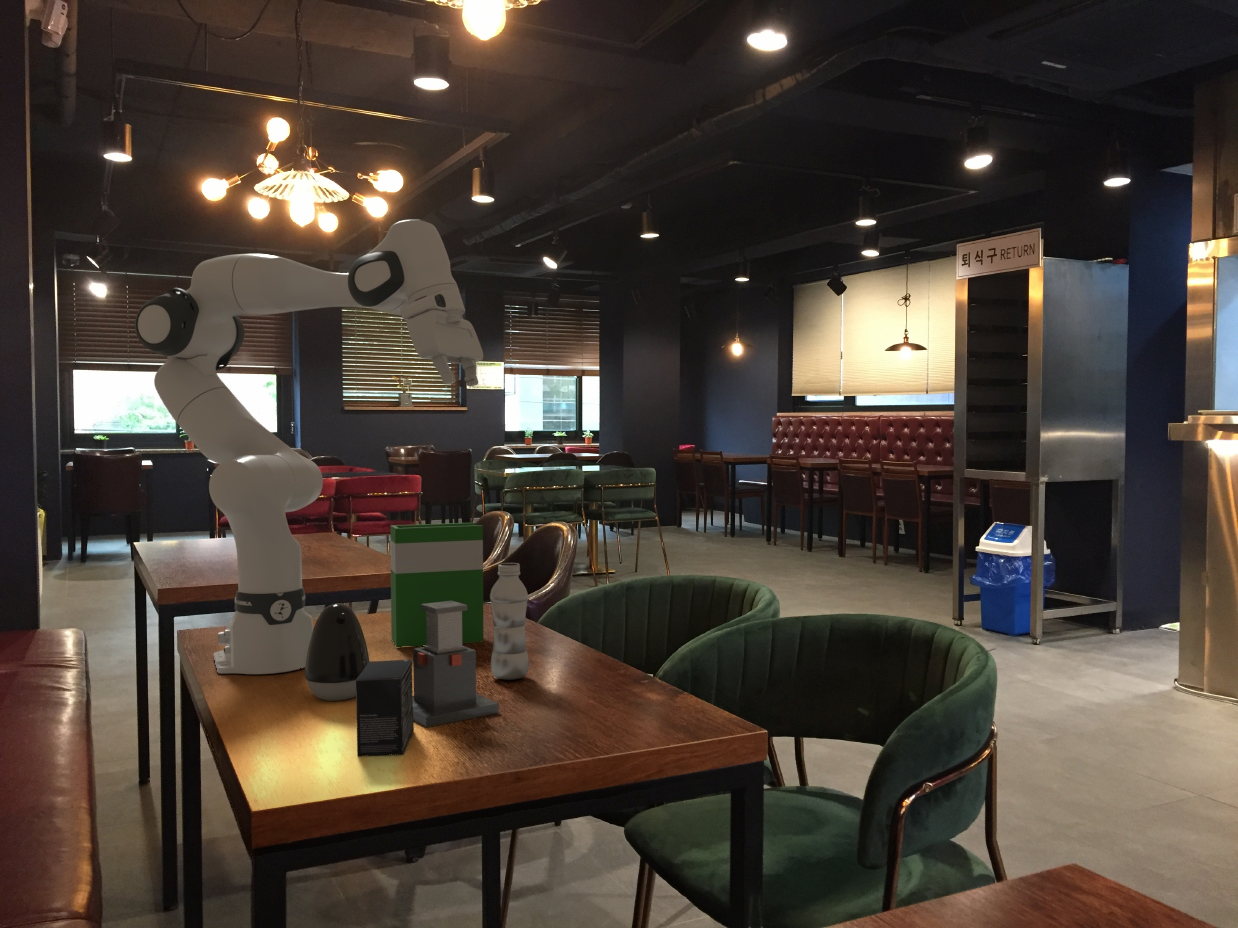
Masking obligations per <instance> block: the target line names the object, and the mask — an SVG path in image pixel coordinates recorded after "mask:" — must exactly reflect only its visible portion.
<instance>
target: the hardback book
mask: <svg viewBox="0 0 1238 928" xmlns="http://www.w3.org/2000/svg"><path fill="white" fill-rule="evenodd" d="M483 527H484V525H482V524H481V525H480V524H479V525H478V524H477V523H476V522H457V523H456V522H455V523H429V524H428V523H427V524H426V523H425V524H424V523H423V524H419V523H418V524H396V525H393V524H391V525H390V604H391V605H390V613H391V614H390V615H391V617H390V623H391V627H390V628H391V631H390V632H391V633H390V634H391V638H392V640H393V642H394V644H395V645H396V647H402V646H423V645H427V631H426V611H424V610H421V604H427V603H436V602H444V601H454V602H458V603H461V604H465V605H467V611H462V644H473V643H472V642H475V643H480V642H479V641H484V640H485V639H484V532H483V531H484V530H483V529H484V528H483ZM392 640H391V641H392ZM394 644H393V645H394ZM396 647H395V648H396Z"/></svg>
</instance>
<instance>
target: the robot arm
mask: <svg viewBox="0 0 1238 928" xmlns="http://www.w3.org/2000/svg"><path fill="white" fill-rule="evenodd" d="M323 308H324V309H325V308H361V309H362V308H366V309H371V310H374V311H379V312H382V313H383V312H384V313H386V314H391V315H394V316H396V317H400V318H402V319H403V321H406V327H407V331H408V334H409V337H410V340H411V342H412V344H413V347H414V350H415V351H416V353H417V355H418V356H419V358H420V359H424V360H430V361H432V364H433V366H434V368H435V370H436V371H437V372H438V374H439V375H440V378H441V381H442V384H444V385H448V386H449V385H453V384H455V382H457V380H456V377H455V373H454V372H453V371H452V370H451V367H450V366H449V363H451V364H452V363H453V364H458V365H459V364H460V365H461V367H462V369H463V370H464V375H465V377H464V378H463V379H464V381H465V385H466V386H467V387H475V386H478V385H479V379H478V376H477V370H478V369H477V362H481V361H483V359H484V351H483V349H482V346H481V342H480V340H479V338H478V334H477V333H476V330H475V328H474V325H473V324H472V323H471V322H470V321H469V320H468V319H464V317H463V315H464V314H465V312H466V309H465V308H466V307H465V305H464V301H463V299H462V296H461V293H460V290H459V287H458V284H457V281H456V280H455V279H454V277H453V275H452V271H451V261H450V259H449V254H448V252H447V250H446V248H445V243H444V241H443V240H442V237H441V234H440V233H439V231H438V229H437V227H435V225H434V224H432V223H431V222H428V221H427V220H423V219H419V218H417V219H414V218H411V219H410V218H409V219H403V220H399V221H397V222H395V223H393V224H392V225H391V226H389V228H388V231H387V233H386V235H385V237H384V238H383V239H382V241H381V242H380V243H378V245H376V246H375V247H374V248H372V250H371V251H369V252H368V253H366V254H365V255H362V256H359V258H356V260H355V261H354V262H353V263H352V265H351V267H350V269H349V271H348V272H347V273H345V272H343V273H340V272H332V271H328V270H327V271H326V270H323V269H319V268H316V267H313V266H309V265H307V264H304V263H301V262H298V261H295V260H294V259H293V260H292V259H289V258H285V257H282V256H278V255H271V254H265V253H240V254H238V253H237V254H228V255H222V256H217V257H213V258H210V259H206V260H203V261H201V262H200V263H199V264H198V265H196V267H195V268H194V270H193V272H192V276H191V280H190V287H189V288H187V289H186V290H185V289H183V288H179V287H173V288H170V289H169V290H168V291H166V292H165V293H164V294H162V295H158V296H156V297H153V298H151V299H149V300H148V301H145V303H143V305H142V306H140V308H139V309H138V312H137V313H136V315H135V320H134V332H135V335H136V337H137V339H138V341H139V342H140V343H141V344H142V346H143V347H145V348H146V349H147V350H149V351H151V352H153V353H156V354H157V355H161V356H165V357H167V358H166V361H165V362H164V363H163V364H162V365H161V366H160V367H159V368H158V370H157V371H156V373H155V375H154V379H153V380H154V381H153V383H154V387H155V390H156V393H157V394H158V396H159V398H160V400H161V401H162V403H163V405H164V407H165V408H166V410H167V411H168V413H169V414H170V415H171V417H172V418H173V420H174V421H175V422H176V423H177V425H178V426H179V427H180V429H182V431H183V432H184V433H185V434H186V435H187V437H188V438H189V439H190V440H191V442H192V443H193V444H194V445H195V446H196V448H197V449H198V450H199V451H200V453H201V454H202V455H203V456H204V457H206V458H207V459H209V461H212V462H214V463H216V464H217V466H216V468H215V469H213V471H212V473H211V475H210V478H209V482H208V491H209V495H210V499H211V501H212V503H213V504H214V505H215V507H216V508H217V509H218V510H220V511H221V512H222V513H223V514H224V516H225V517H226V520H227V521H228V523H229V527H230V530H231V532H232V535H233V539H234V543H235V548H236V556H237V561H236V562H237V578H238V579H237V580H238V582H237V585H238V590H236V592H235V597H234V610H235V612H234V615H233V616H232V618H231V619H230V621H229V623H228V624H227V626H226V628H225V630H224V631H219V632H217V643H218V645H219V646H221V645H225V646H224V648H223V649H222V650H218V651H216V652H214V653H213V656H214V659H213V661H214V660H215V663H214V666H215V665H216V666H215V669H216V668H217V670H216V673H217V672H218V673H217V674H242V675H243V674H244V675H267V674H268V675H269V674H279V673H280V674H281V673H287V672H292V671H297V670H300V668H301V669H305V664H306V657H307V652H308V647H309V643H310V639H311V636H312V632H313V629H314V622H313V617H312V616H311V615H310V614H309V613H307V612H306V611H305V608H304V607H305V606H306V594H305V588H304V587H303V576H302V575H303V567H302V565H303V564H302V563H303V562H302V561H303V560H302V559H303V557H302V553H303V552H302V547H301V544H300V542H299V541H298V540H297V539H296V538H295V537H294V536H293V534H292V532H291V529H290V527H289V523H288V519H287V516H286V513H290V512H295V511H298V510H301V509H303V508H305V507H308V505H311V504H312V503H313V502H316V500H317V499H318V498H319V496H320V495H321V493H322V490H323V485H324V478H323V475H322V471H321V469H320V468H319V466H318V465H317V464H316V463H315V462H314V461H312V460H311V459H309V458H307V457H305V456H304V455H301V454H300V453H298V452H296V450H294V449H293V448H291V447H290V446H289V445H288V444H286V443H285V442H284V441H282V440H281V439H280V438H279V437H278V436H276V435H275V434H273V432H271V431H270V430H269V429H267V428H266V427H265V426H263V424H261V423H260V422H259V421H258V420H257V419H256V418H255V417H254V416H253V415H252V414H251V413H250V411H248V410H247V408H246V407H245V406H244V405H243V404H242V402H241V401H240V400H239V399H238V398H237V397H236V395H235V394H234V393H233V392H232V391H231V389H229V387H228V386H227V385H226V384H225V383H224V382H223V380H222V379H221V378H220V376H218V372H217V371H220V370H223V369H225V368H226V367H227V366H228V365H229V363H230V361H231V359H233V358H234V357H235V355H236V354H238V352H239V351H240V350H241V347H242V345H243V343H244V339H245V334H246V333H245V326H244V323H243V321H242V320H241V318H240V316H266V315H275V314H276V315H277V314H285V313H290V312H298V311H307V310H313V309H314V310H315V309H323Z"/></svg>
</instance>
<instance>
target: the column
mask: <svg viewBox="0 0 1238 928" xmlns="http://www.w3.org/2000/svg"><path fill="white" fill-rule="evenodd" d="M421 610H424V611H426V631H427V645H425V646H424V650H426V651H427V652H430V653H432V654H435V655H440V654H447V653H454V652H460V651H465V647H466V646H465V647H464V645H463V643H462V611H467V605H465V604H461V603H458V602H454V601H444V602H436V603H427V604H421Z"/></svg>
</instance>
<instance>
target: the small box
mask: <svg viewBox="0 0 1238 928" xmlns="http://www.w3.org/2000/svg"><path fill="white" fill-rule="evenodd" d="M369 661H370V662H369V663H368V664H367V666H366V667H365V668H364V670H363V671H362V673H361V674H360V675H359V677H358V678H357V679H356V696H355V706H356V707H355V710H356V712H355V713H356V749H357V750H356V751H357V752H356V753H357V757H379V756H382V757H384V756H386V757H387V756H403V755H405V752H406V750H407V748H408V745H409V743H410V741H411V738H412V736H413V734H414V731H415V724H414V722H415V721H414V720H413V697H412V696H413V694H414V689H413V662H412V661H413V660H412V659H396V660H395V659H394V660H393V659H392V660H375V661H373V660H372V661H371V660H369Z"/></svg>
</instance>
